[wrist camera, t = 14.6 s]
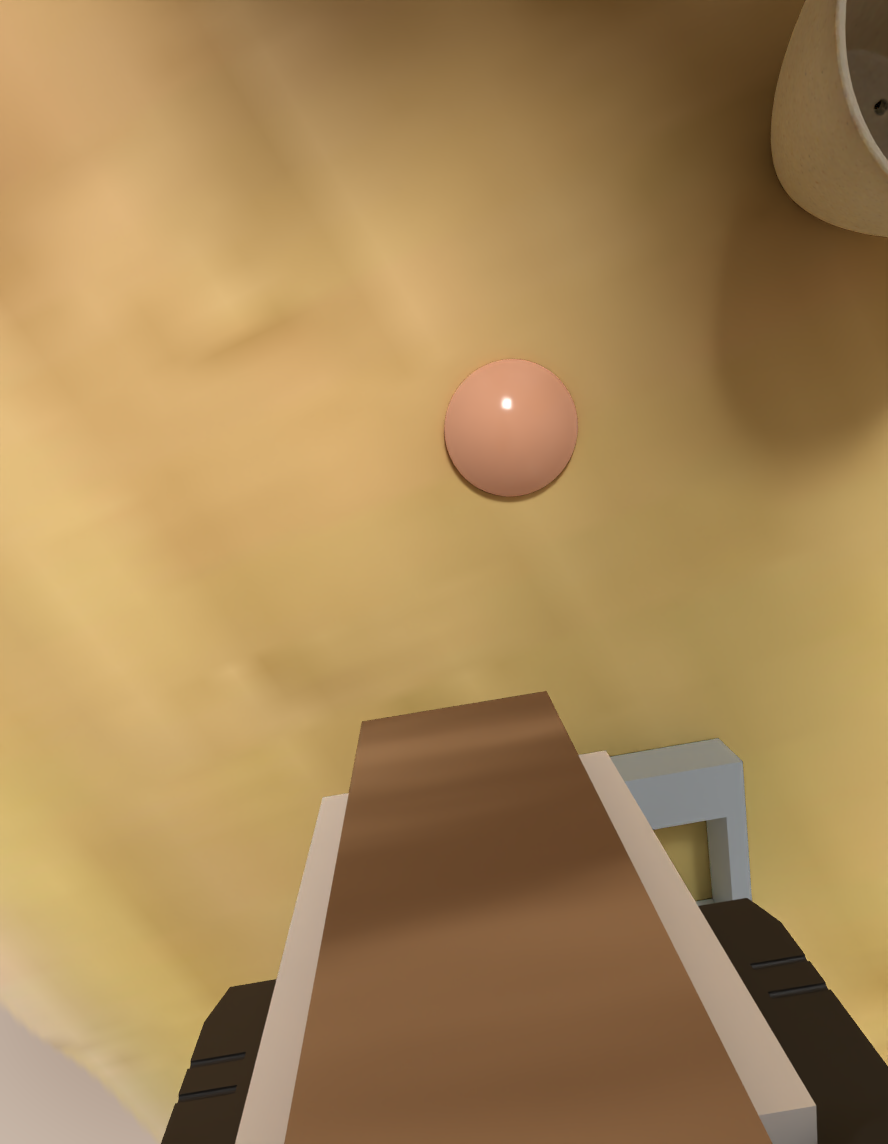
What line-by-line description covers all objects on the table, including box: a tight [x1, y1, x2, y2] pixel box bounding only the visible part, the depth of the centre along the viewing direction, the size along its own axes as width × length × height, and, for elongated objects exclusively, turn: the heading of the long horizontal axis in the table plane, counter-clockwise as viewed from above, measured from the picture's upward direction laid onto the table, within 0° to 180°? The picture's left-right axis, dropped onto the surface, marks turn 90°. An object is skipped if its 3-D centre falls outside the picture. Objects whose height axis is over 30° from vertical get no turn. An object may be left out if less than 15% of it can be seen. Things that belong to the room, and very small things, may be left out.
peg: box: [284, 691, 773, 1144], centre depth 8 cm, size 4×4×12 cm
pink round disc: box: [444, 359, 578, 496], centre depth 24 cm, size 5×5×1 cm
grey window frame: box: [610, 738, 752, 906], centre depth 27 cm, size 10×14×2 cm
